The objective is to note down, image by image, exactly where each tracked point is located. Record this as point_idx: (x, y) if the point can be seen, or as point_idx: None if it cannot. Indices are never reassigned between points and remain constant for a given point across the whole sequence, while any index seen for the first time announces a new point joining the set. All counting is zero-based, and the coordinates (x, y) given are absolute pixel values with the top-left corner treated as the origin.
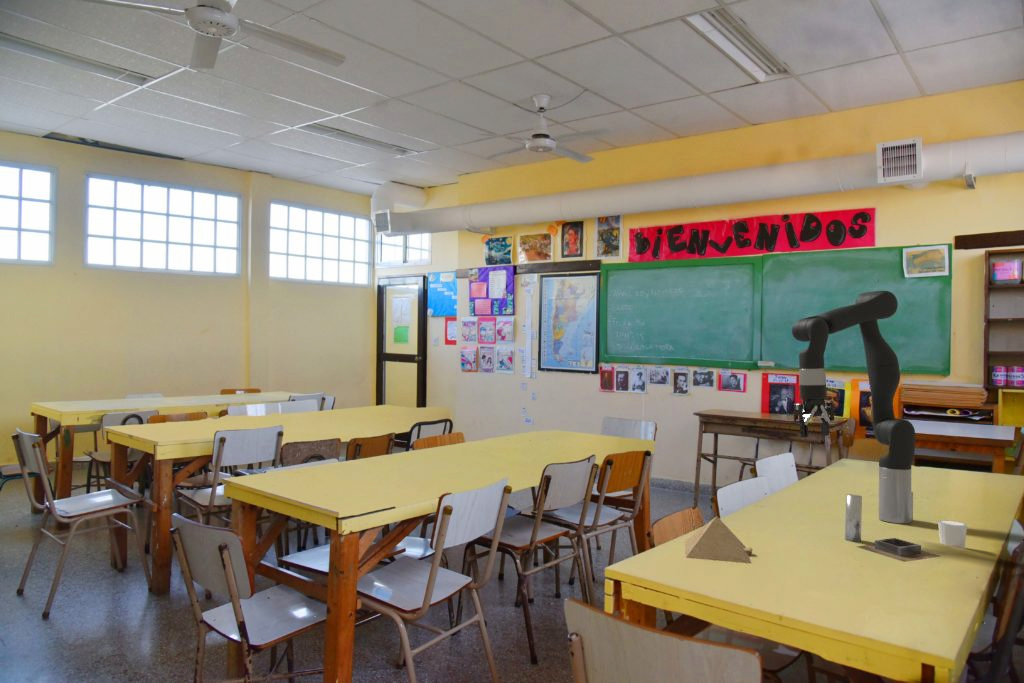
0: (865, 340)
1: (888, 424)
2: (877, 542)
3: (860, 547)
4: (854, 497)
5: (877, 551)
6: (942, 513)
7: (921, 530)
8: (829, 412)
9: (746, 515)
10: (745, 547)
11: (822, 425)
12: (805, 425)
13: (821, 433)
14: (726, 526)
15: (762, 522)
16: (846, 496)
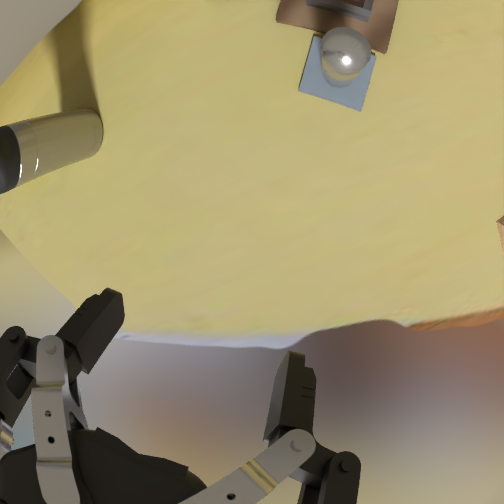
0: None
1: None
2: (370, 13)
3: (384, 44)
4: (367, 41)
5: (383, 14)
6: None
7: (109, 69)
8: (4, 386)
9: (284, 313)
10: (502, 217)
11: (93, 356)
12: (293, 429)
13: (120, 326)
14: None
15: (314, 274)
16: (363, 66)
